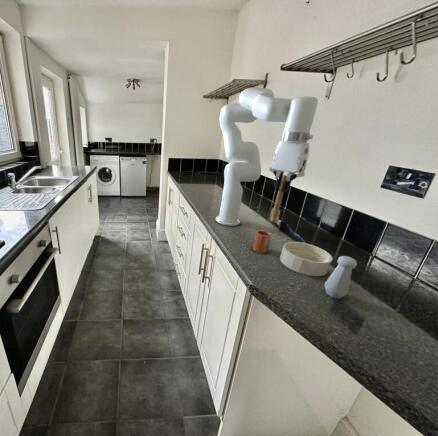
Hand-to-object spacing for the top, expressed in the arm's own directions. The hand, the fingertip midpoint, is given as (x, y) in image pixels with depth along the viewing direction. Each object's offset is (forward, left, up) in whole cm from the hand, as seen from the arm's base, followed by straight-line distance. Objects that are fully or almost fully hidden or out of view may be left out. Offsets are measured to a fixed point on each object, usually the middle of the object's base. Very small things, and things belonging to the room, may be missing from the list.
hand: (281, 190), depth 85 cm
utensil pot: (-2, -2, -26) cm, 27 cm away
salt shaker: (+25, +8, -27) cm, 38 cm away
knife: (-19, +20, -27) cm, 38 cm away
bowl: (+9, +9, -26) cm, 30 cm away
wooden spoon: (0, 0, -13) cm, 13 cm away
